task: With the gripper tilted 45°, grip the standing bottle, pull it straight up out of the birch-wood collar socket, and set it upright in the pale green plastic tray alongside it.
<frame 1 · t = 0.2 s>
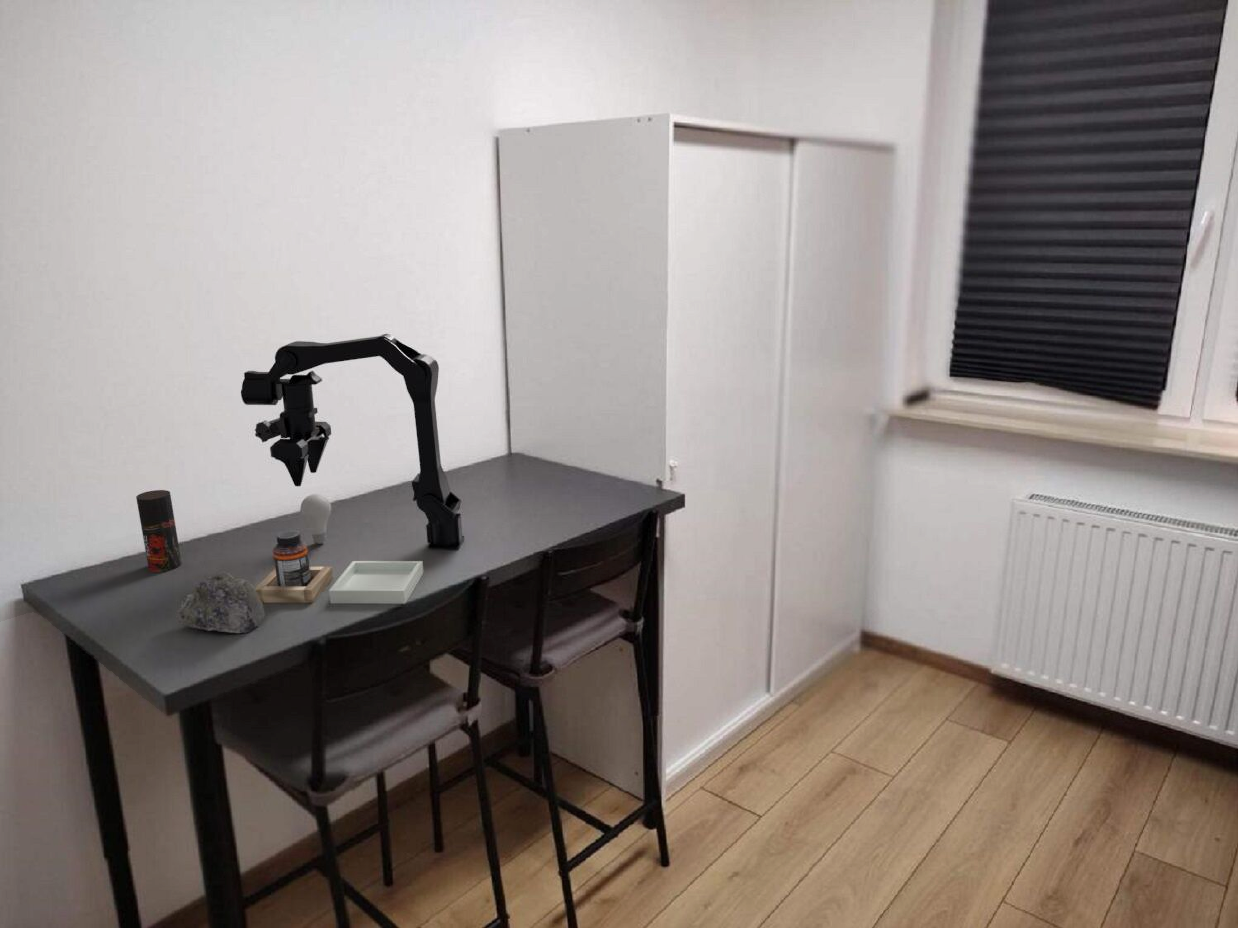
hand: (305, 479, 184), 15 cm above the table, tool pointing down, fingers open, 9 cm apart
tray: (378, 587, 167), on the table
supplement bottle: (295, 591, 166), resting in collar socket
deodorant: (165, 566, 178), on the table
lightbulb: (320, 544, 189), on the table
collar socket: (295, 590, 166), on the table
mineral rock: (223, 626, 153), on the table
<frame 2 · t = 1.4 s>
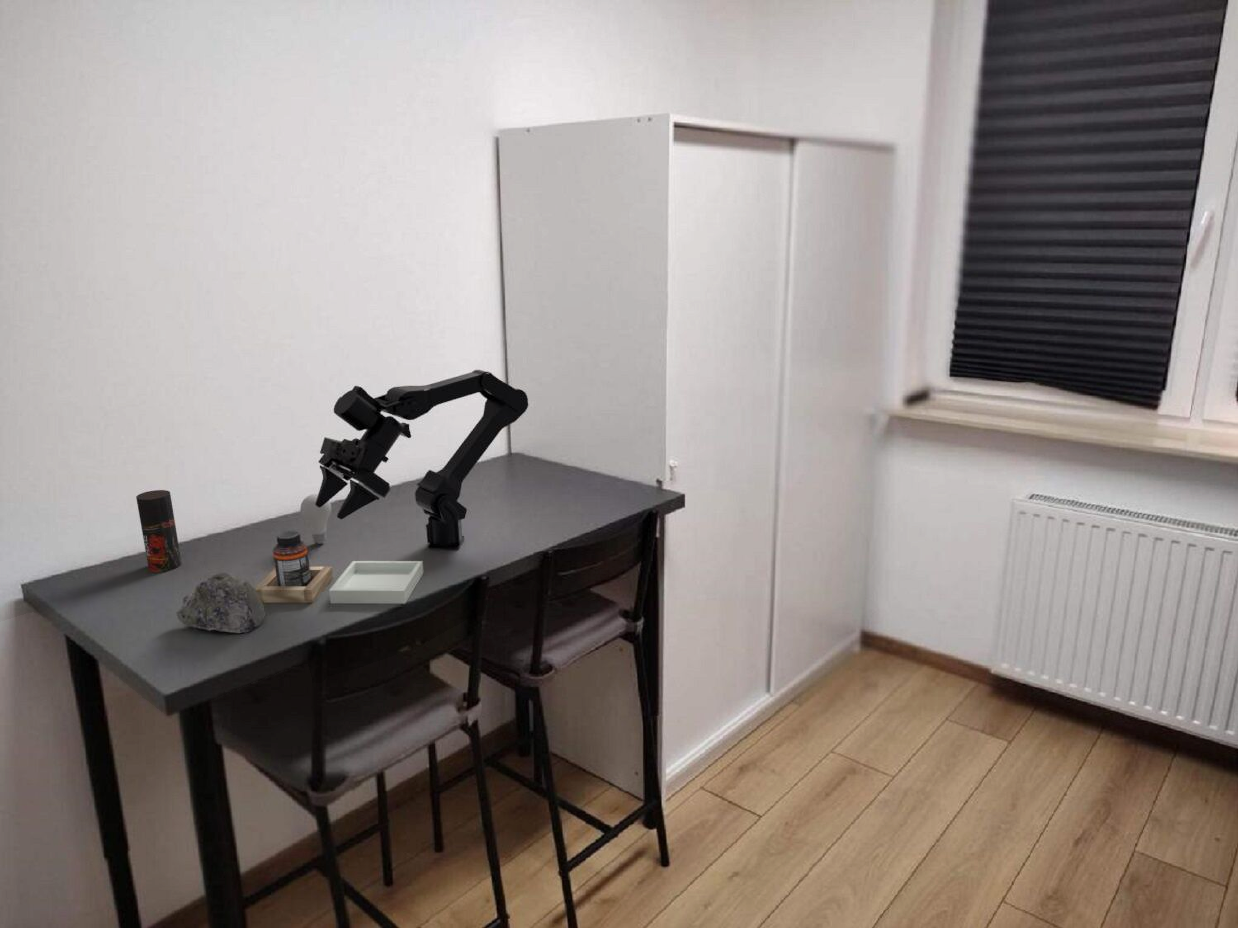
hand: (327, 512, 168), 13 cm above the table, tool tilted 45°, fingers open, 9 cm apart
nothing on the table moved.
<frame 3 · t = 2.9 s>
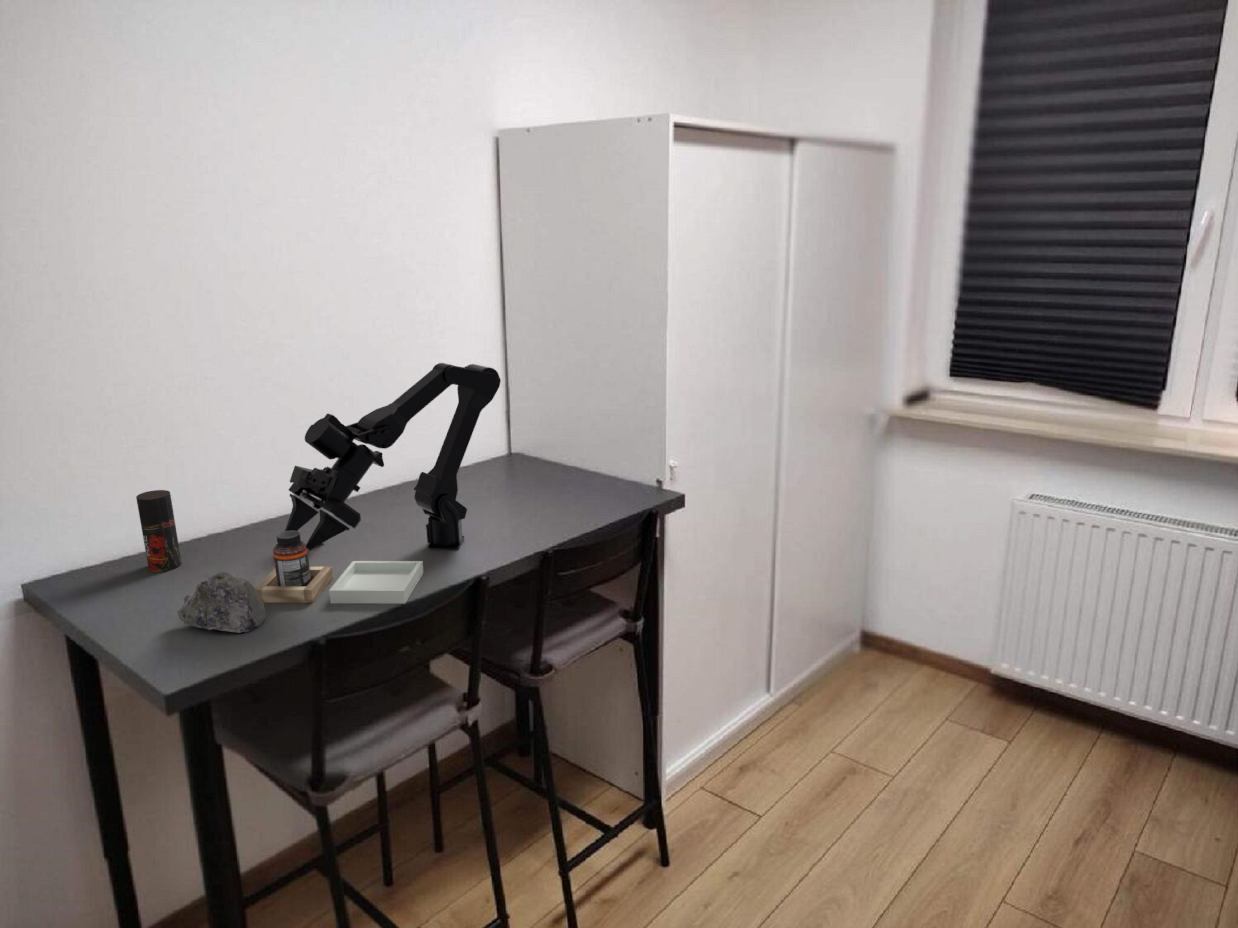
hand: (296, 541, 164), 9 cm above the table, tool tilted 45°, fingers open, 9 cm apart
nothing on the table moved.
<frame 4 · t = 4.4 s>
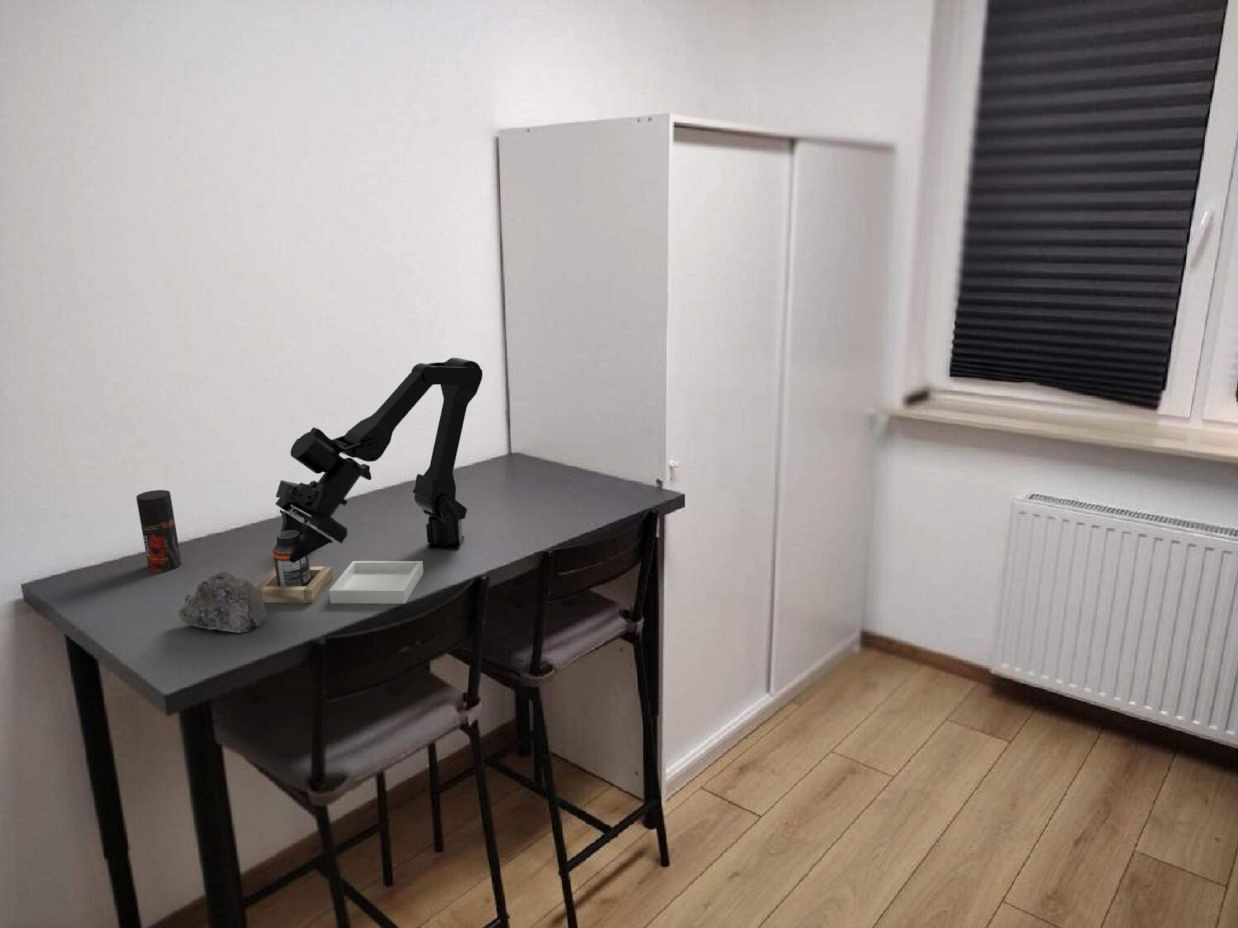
hand: (283, 557, 163), 7 cm above the table, tool tilted 45°, fingers closed on supplement bottle, 6 cm apart
supplement bottle: (295, 591, 166), resting in collar socket, touching gripper
everything else where it was.
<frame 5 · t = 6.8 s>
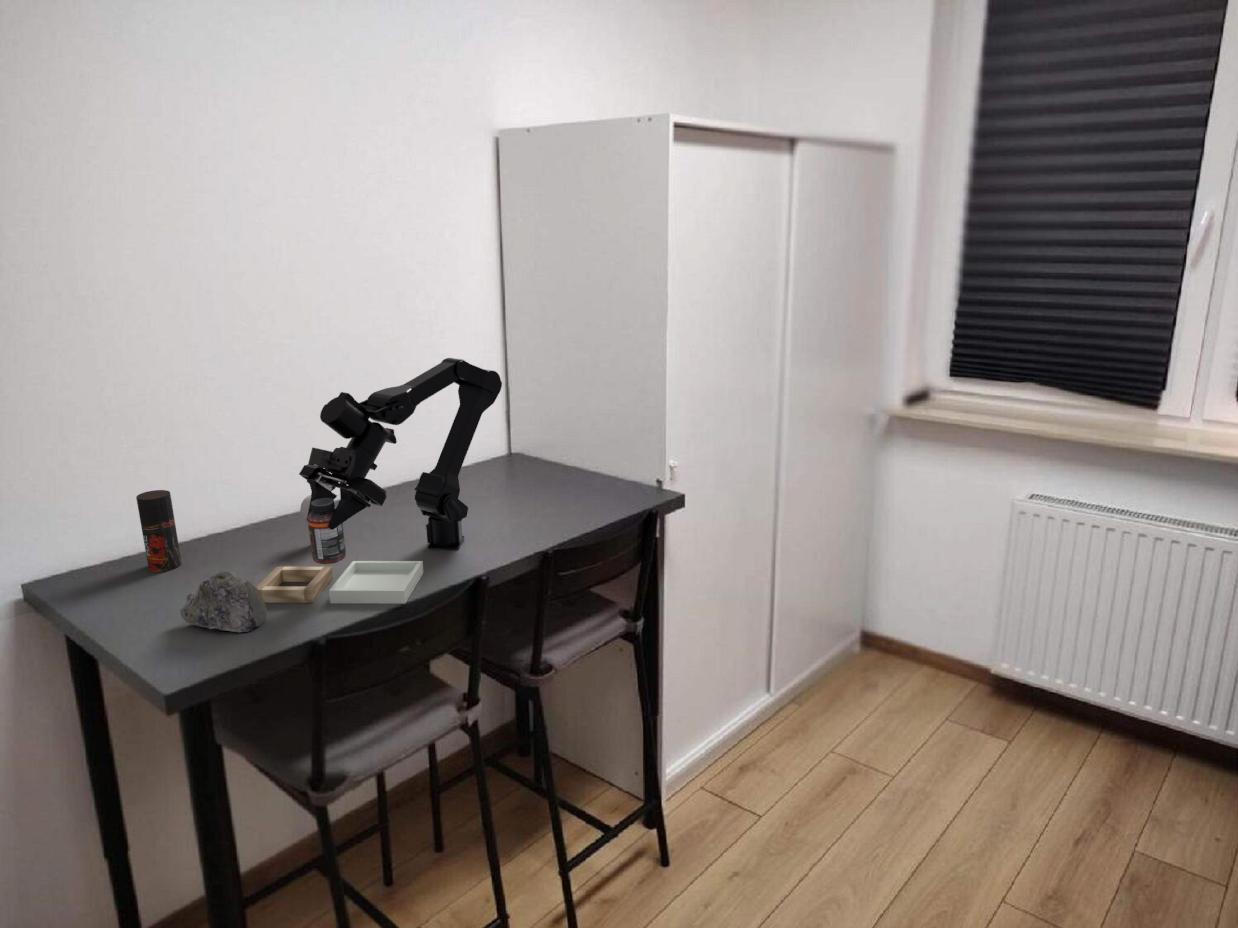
hand: (319, 525, 161), 13 cm above the table, tool tilted 45°, fingers closed on supplement bottle, 6 cm apart
supplement bottle: (329, 559, 164), point 6 cm above the table, touching gripper
everything else where it was.
when the fingers open (9 cm above the table, at t = 9.3 s): supplement bottle stays where it is, resting on tray.
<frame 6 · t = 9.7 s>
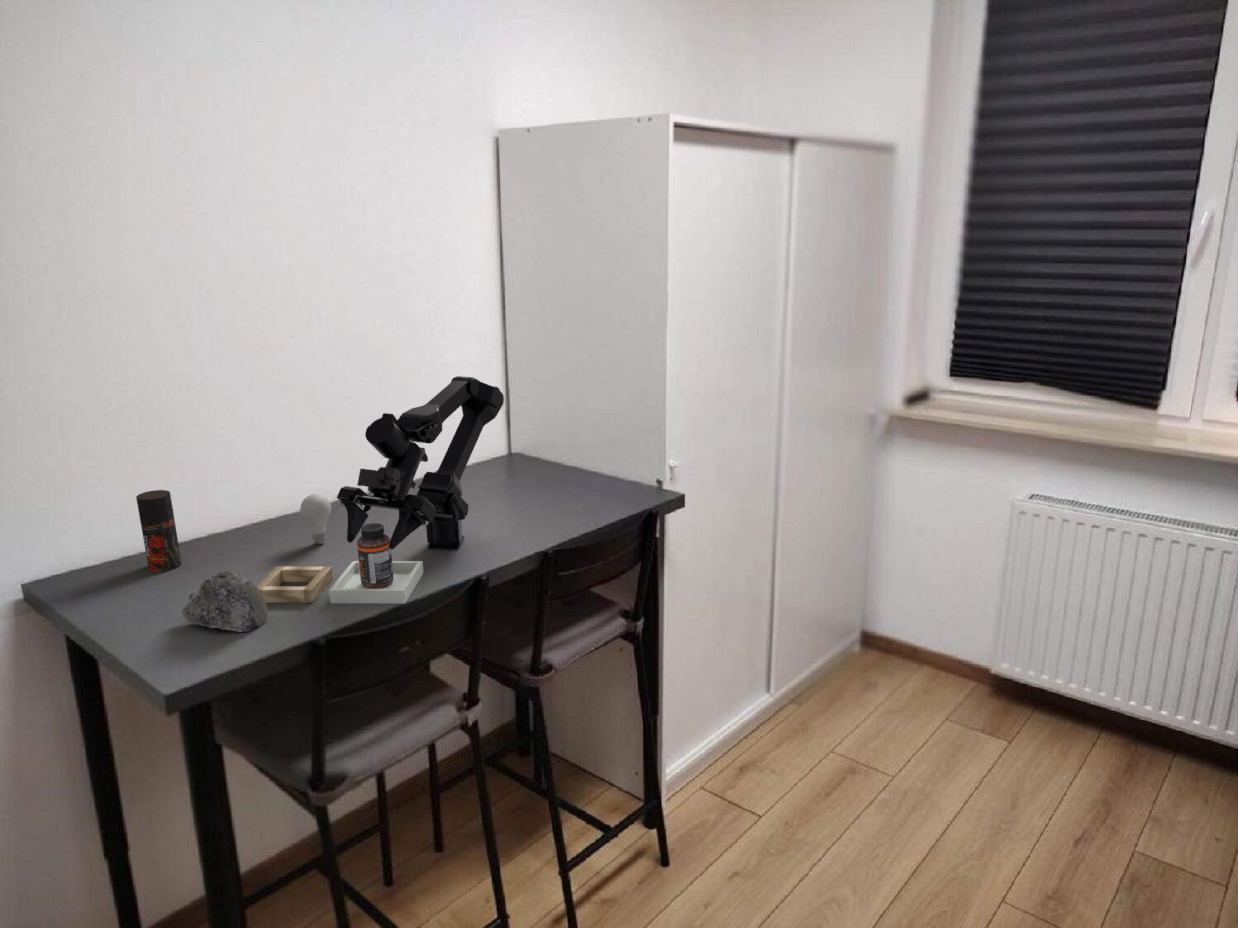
hand: (369, 545, 163), 9 cm above the table, tool tilted 45°, fingers open, 9 cm apart
supplement bottle: (377, 584, 167), point 1 cm above the table, touching tray
everything else where it was.
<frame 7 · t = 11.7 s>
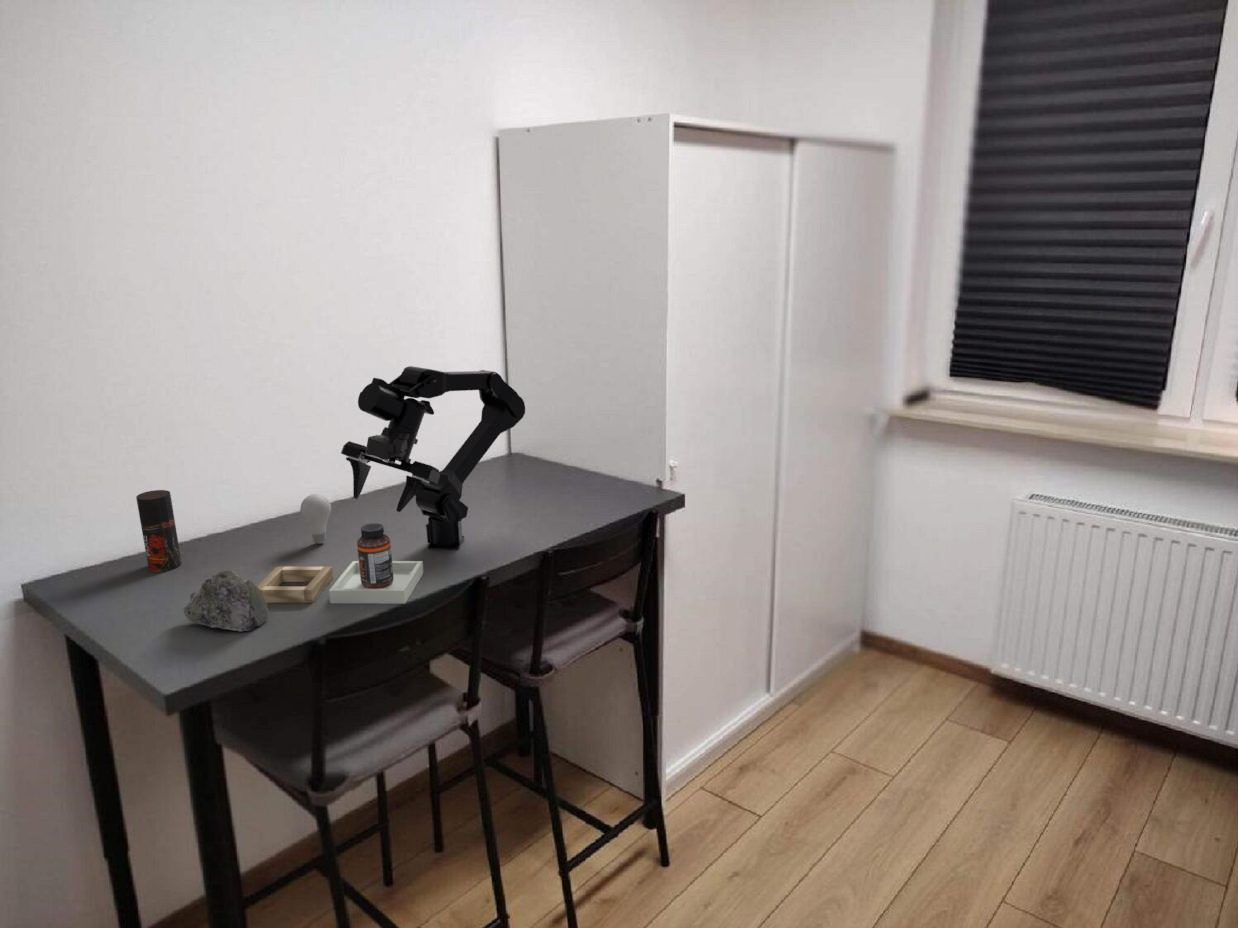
hand: (376, 504, 171), 13 cm above the table, tool tilted 30°, fingers open, 9 cm apart
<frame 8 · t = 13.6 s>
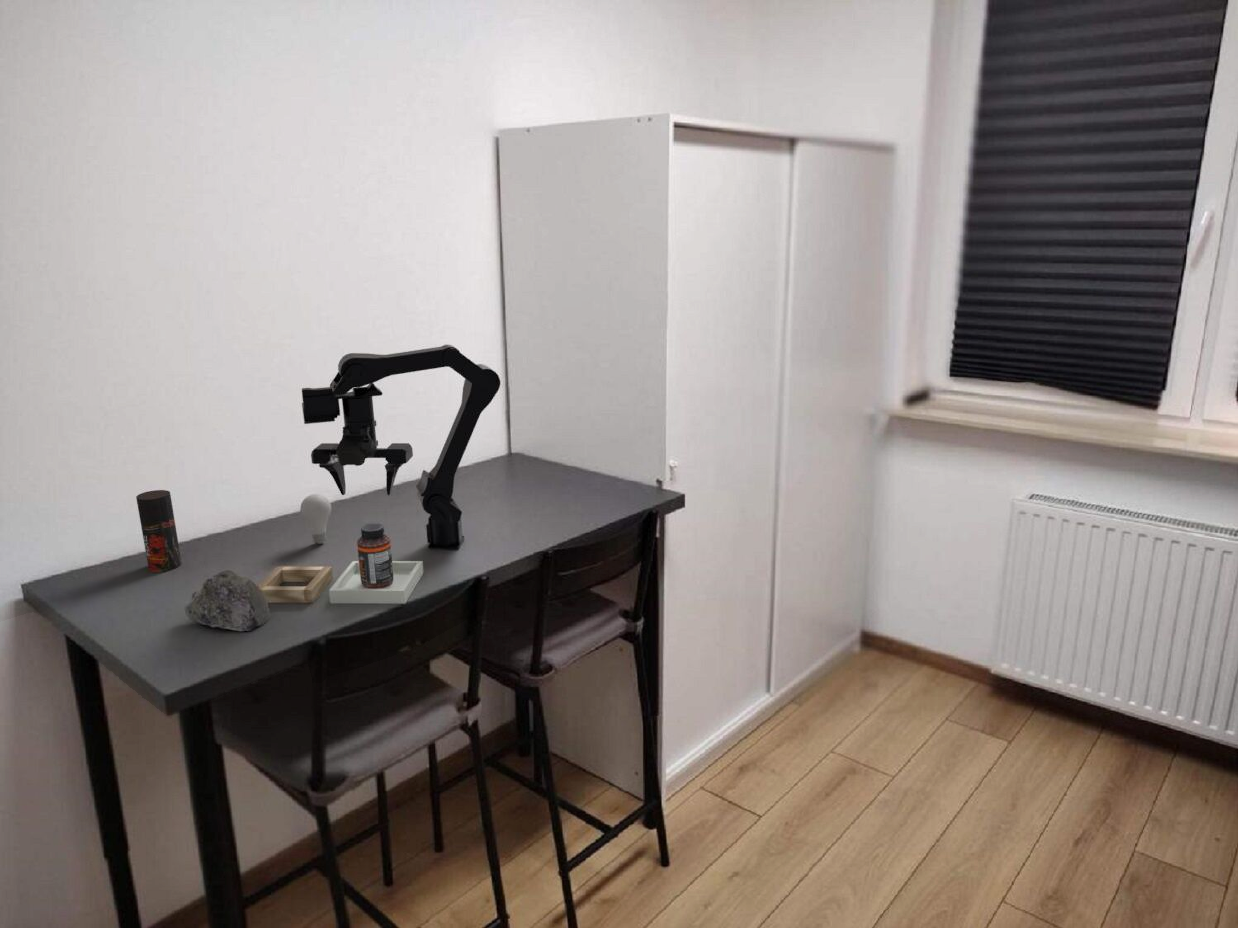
hand: (366, 494, 179), 13 cm above the table, tool pointing down, fingers open, 9 cm apart
at the end: supplement bottle inside the target area on the tray (0.3 cm from its centre), point 0.6 cm above the tray's base; supplement bottle tilted 0°; the gripper is holding nothing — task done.
